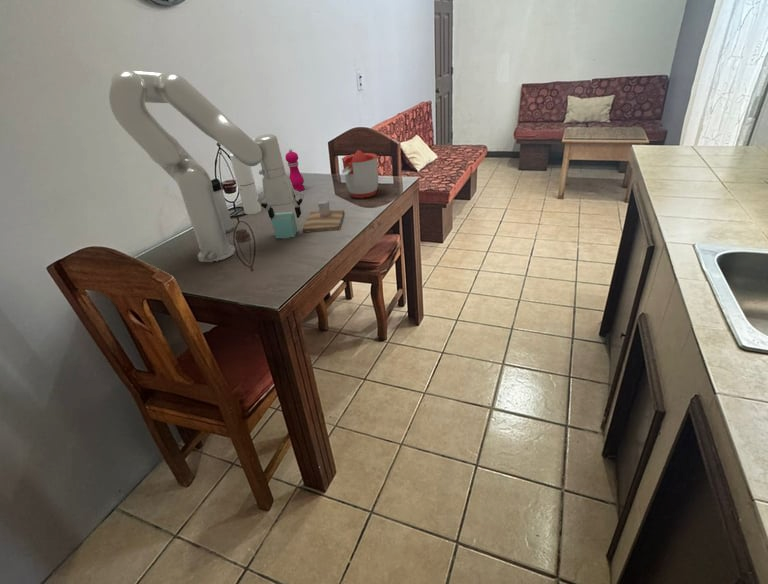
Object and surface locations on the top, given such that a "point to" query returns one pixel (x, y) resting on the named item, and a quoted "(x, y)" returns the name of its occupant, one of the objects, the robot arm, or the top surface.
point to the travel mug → (222, 205)
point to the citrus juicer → (361, 174)
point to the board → (323, 221)
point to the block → (324, 208)
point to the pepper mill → (294, 171)
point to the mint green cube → (284, 225)
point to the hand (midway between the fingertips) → (286, 217)
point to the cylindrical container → (246, 186)
